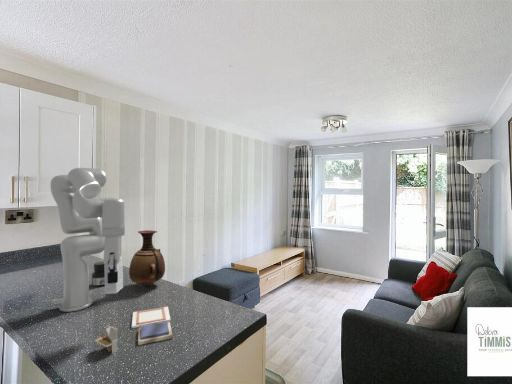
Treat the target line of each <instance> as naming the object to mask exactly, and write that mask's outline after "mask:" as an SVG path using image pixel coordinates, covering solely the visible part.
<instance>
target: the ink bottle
mask: <svg viewBox="0 0 512 384" xmlns="http://www.w3.org/2000/svg"><path fill="white" fill-rule="evenodd" d="M91 286H92V287H94V288H99V287H105V271H104V261H97V262H95V263H93V272H92V273H91Z"/></svg>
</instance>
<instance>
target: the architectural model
mask: <svg viewBox="0 0 512 384" xmlns="http://www.w3.org/2000/svg"><path fill="white" fill-rule="evenodd" d="M104 330H105V332H106V336H105V335H104V334H102V336H101V337H99V338H97V339H94V342H95V343H98V344H100V345H102V346H103V347H106V349H107V351H108V352H109V353H110V352H111V355H113V354H115V353H117V352H118V328H116V327H113V326H111V325H108V324H107V325H106V328H104Z"/></svg>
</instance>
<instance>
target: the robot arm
mask: <svg viewBox="0 0 512 384" xmlns="http://www.w3.org/2000/svg"><path fill="white" fill-rule="evenodd" d="M106 183H107V175H106V173H105V172H104V170H102V169H100V168H94V167H93V168H92V167H91V168H90V167H75V168H73V169H71V170H70V171H68V174H60V175H55V176H53V177H52V178H51V181H50V192H51V196H52V197H53V200H54V201H55V203H56V206H57V209H58V215H59V222H60V227H61V230H62V233H63V234H66V235H71V236H68V237H66V238H64V239H63V240H62V241H61V242H60V246H59V247H60V253H61V259H62V271H63V273H62V274H63V276H62V278H63V279H62V281H63V283H62V287H63V290H62V292H63V297H60V298H55V299H52V301H51V305H53V306H57V305H59V308H58V309H59V311H60V312H64V313H65V312H66V313H67V312H69V313H70V312H76V311H80V310H84V309H87V308H89V307H90V306H91V305H93V303H94V300H93V299H92V298H90V295H89V294H90V293H89V291H90V290H89V289H90V288H89V286H90V285H89V283H90V281H89V279H90V277H89V274H90V273H89V271H90V270H89V264H88V262H87V261H86V260H85V259H84V258H83V257H85V256H91V255H97V254H101V253H102V252H103V262H104V265H106V264H107V263H108V284H110V283H117V282H118V271H117V264H118V263H119V261H120V258H121V257H122V236H125V232H126V229H125V228H126V225H125V224H126V223H125V221H126V220H125V219H126V218H125V201H124V199H122V198H113V197H105V198H103V197H98V196H99V194H100V193H101V191H102V188H104V186H105V185H106ZM72 194H73V195H72ZM97 197H98V198H97ZM84 233H86V234H84ZM88 233H89V234H88ZM74 234H77V235H74ZM78 234H80V235H78ZM114 261H116V263H114ZM114 265H115V266H114Z"/></svg>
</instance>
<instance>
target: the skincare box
mask: <svg viewBox="0 0 512 384" xmlns="http://www.w3.org/2000/svg"><path fill="white" fill-rule="evenodd" d="M123 262H124V261H123V256H121V258H120V261H119V263H118V264H117V271H118V282H117V283H110V284H108V263H107V264H106V265H104V271H105V286H104V293H105V294H106V295H109V294H110V295H111V294H118V292H120V290H122V289H123V288H124V274H123V273H124V271H123V270H124V269H123V267H124V266H123ZM114 263H116V261H114ZM114 266H115V265H114Z"/></svg>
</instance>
